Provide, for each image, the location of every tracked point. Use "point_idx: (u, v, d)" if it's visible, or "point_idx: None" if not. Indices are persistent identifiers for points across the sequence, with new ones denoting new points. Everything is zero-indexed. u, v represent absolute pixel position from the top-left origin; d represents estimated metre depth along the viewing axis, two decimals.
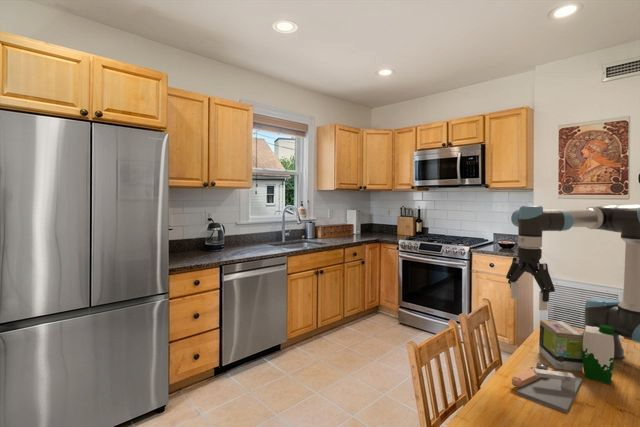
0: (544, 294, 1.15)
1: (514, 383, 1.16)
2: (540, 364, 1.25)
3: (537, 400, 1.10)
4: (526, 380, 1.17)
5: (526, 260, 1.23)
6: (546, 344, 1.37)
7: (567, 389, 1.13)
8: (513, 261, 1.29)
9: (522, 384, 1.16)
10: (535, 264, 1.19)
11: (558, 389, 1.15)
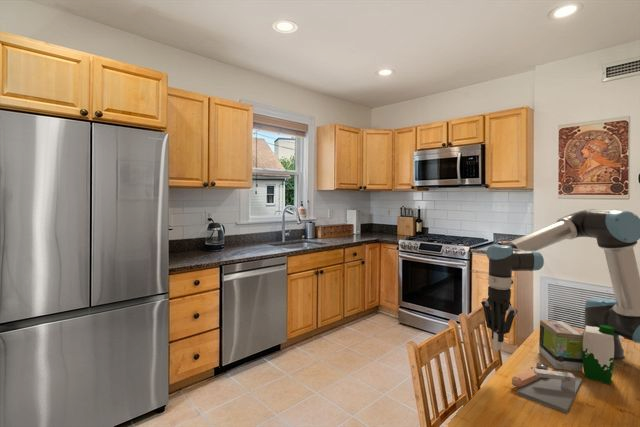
0: (500, 335, 1.22)
1: (514, 383, 1.16)
2: (540, 364, 1.25)
3: (537, 400, 1.10)
4: (526, 380, 1.17)
5: (496, 300, 1.23)
6: (546, 344, 1.37)
7: (567, 389, 1.13)
8: (483, 305, 1.27)
9: (522, 384, 1.16)
10: (507, 306, 1.19)
11: (558, 389, 1.15)
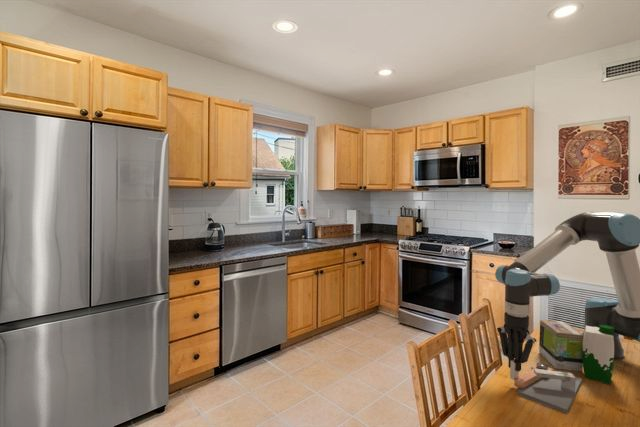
0: (517, 364, 1.17)
1: (517, 384, 1.16)
2: (540, 364, 1.25)
3: (537, 400, 1.10)
4: (528, 381, 1.17)
5: (514, 327, 1.17)
6: (546, 344, 1.37)
7: (567, 389, 1.13)
8: (499, 332, 1.22)
9: (524, 385, 1.15)
10: (525, 335, 1.14)
11: (558, 389, 1.15)
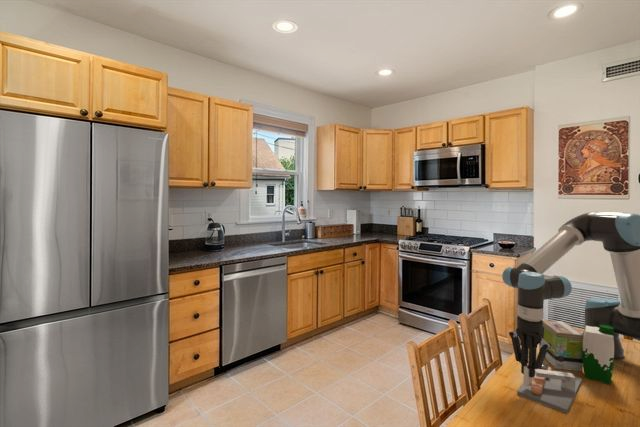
0: (531, 370, 1.13)
1: (535, 391, 1.11)
2: None
3: (537, 400, 1.10)
4: (542, 385, 1.14)
5: (527, 332, 1.13)
6: None
7: (567, 389, 1.13)
8: (512, 336, 1.18)
9: (541, 391, 1.12)
10: (539, 340, 1.10)
11: (558, 389, 1.15)
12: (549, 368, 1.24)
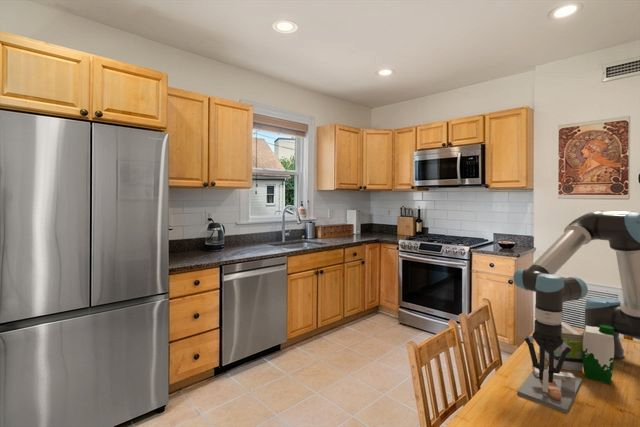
0: (551, 375, 1.10)
1: (557, 397, 1.08)
2: None
3: (537, 400, 1.10)
4: None
5: (546, 336, 1.10)
6: None
7: (567, 389, 1.13)
8: (528, 342, 1.13)
9: None
10: (561, 343, 1.07)
11: None
12: None
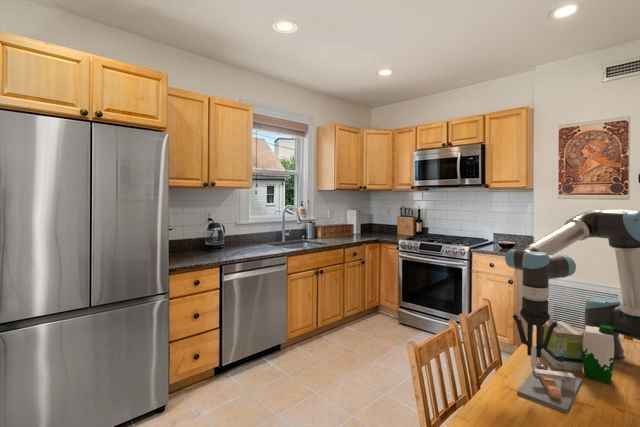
0: (538, 350, 1.12)
1: (557, 397, 1.08)
2: (540, 364, 1.25)
3: (537, 400, 1.10)
4: None
5: (534, 312, 1.12)
6: None
7: (567, 389, 1.13)
8: (516, 319, 1.15)
9: None
10: (548, 318, 1.10)
11: None
12: None
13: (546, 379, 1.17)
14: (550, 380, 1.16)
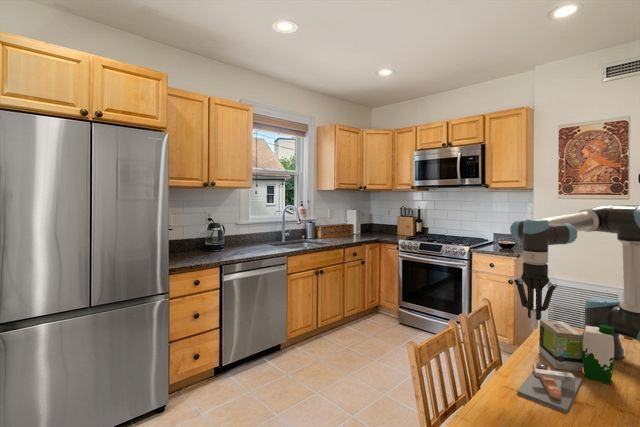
0: (538, 313, 1.17)
1: (557, 397, 1.08)
2: (540, 364, 1.25)
3: (537, 400, 1.10)
4: None
5: (533, 276, 1.17)
6: (546, 344, 1.37)
7: (567, 389, 1.13)
8: (517, 283, 1.21)
9: None
10: (546, 282, 1.14)
11: None
12: None
13: (546, 379, 1.17)
14: (550, 380, 1.16)
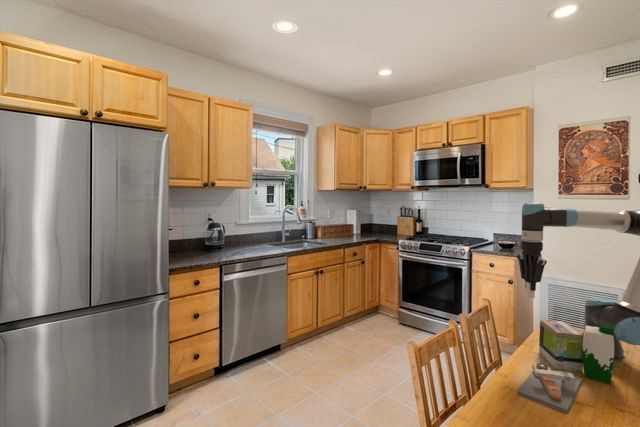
0: (531, 284, 1.35)
1: (557, 397, 1.08)
2: (540, 364, 1.25)
3: (537, 400, 1.10)
4: None
5: (529, 252, 1.36)
6: (546, 344, 1.37)
7: (567, 389, 1.13)
8: (519, 258, 1.41)
9: None
10: (537, 257, 1.32)
11: None
12: None
13: (546, 379, 1.17)
14: (550, 380, 1.16)
